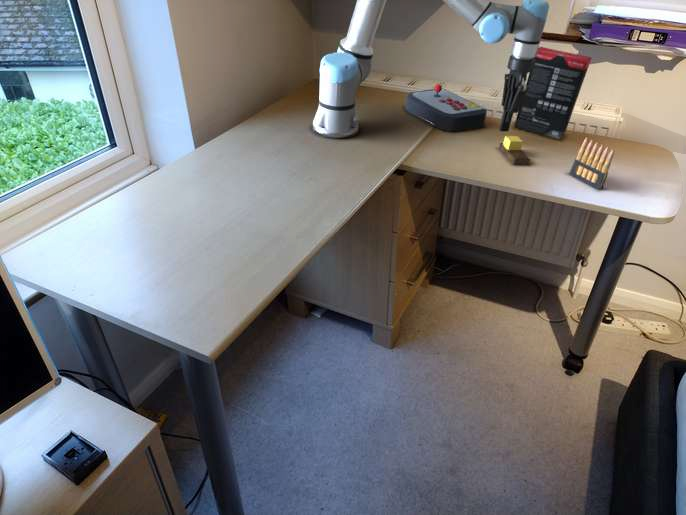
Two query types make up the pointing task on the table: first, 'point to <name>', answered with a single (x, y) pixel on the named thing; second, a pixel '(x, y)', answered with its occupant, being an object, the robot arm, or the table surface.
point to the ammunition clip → (592, 165)
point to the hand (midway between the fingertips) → (503, 130)
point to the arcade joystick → (445, 109)
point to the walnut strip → (515, 156)
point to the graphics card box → (552, 92)
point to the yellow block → (512, 143)
